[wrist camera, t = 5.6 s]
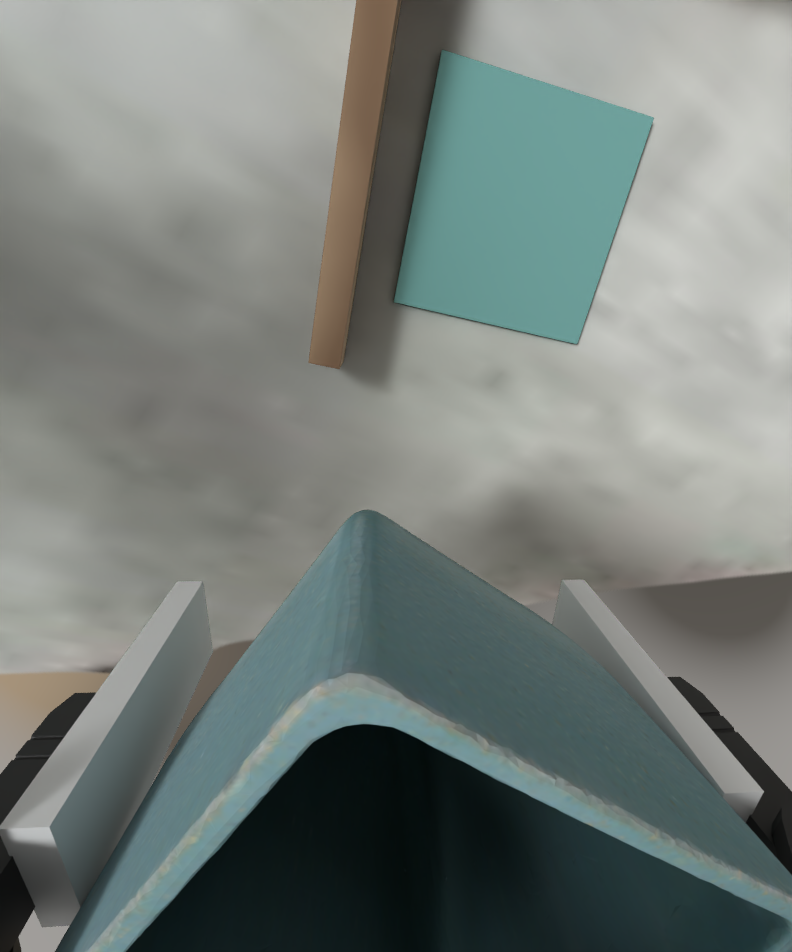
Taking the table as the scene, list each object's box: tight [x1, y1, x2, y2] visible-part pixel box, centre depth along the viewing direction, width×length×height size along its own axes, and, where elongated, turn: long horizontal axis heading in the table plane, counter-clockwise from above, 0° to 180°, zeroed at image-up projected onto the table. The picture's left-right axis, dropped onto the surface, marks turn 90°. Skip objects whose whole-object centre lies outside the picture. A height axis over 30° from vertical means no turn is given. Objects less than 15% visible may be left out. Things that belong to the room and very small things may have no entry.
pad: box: [394, 50, 654, 344], centre depth 24 cm, size 12×12×1 cm
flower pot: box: [55, 510, 792, 952], centre depth 10 cm, size 9×9×9 cm
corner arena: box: [308, 0, 402, 369], centre depth 21 cm, size 20×24×5 cm
